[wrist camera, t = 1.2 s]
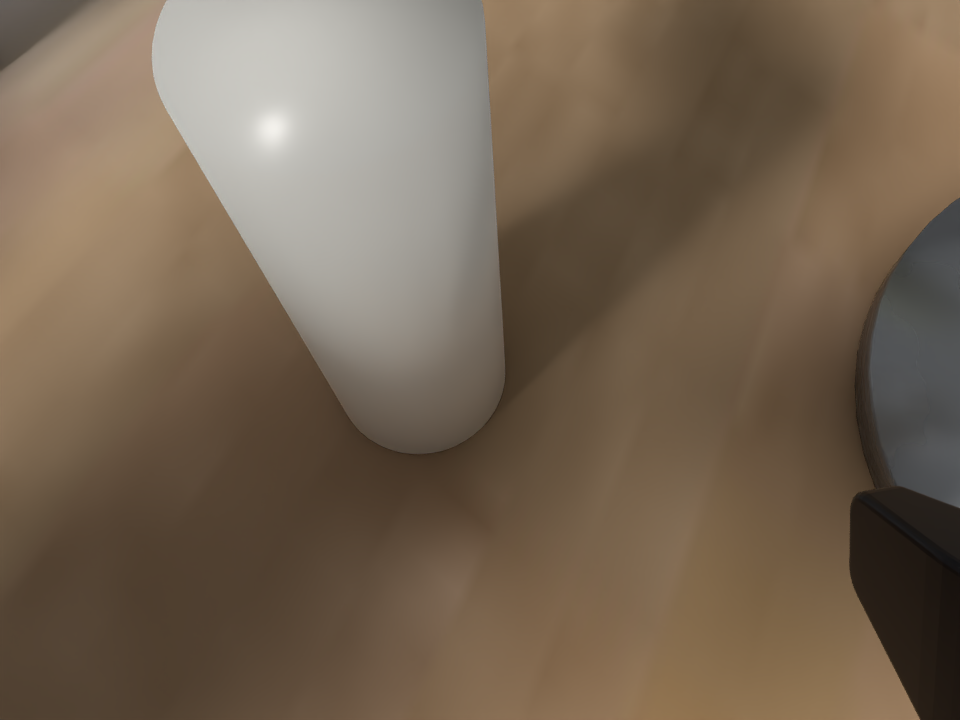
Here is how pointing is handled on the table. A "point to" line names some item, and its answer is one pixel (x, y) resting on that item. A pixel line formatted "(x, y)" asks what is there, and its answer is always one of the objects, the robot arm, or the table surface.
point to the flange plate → (915, 367)
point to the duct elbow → (357, 191)
